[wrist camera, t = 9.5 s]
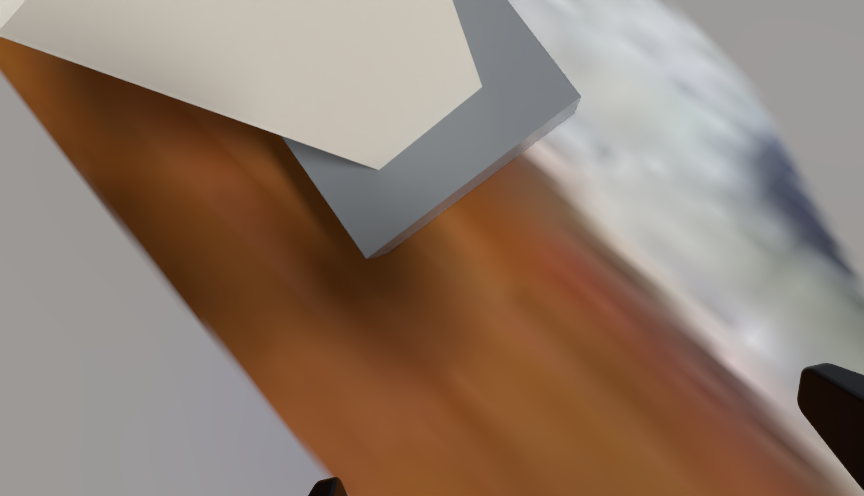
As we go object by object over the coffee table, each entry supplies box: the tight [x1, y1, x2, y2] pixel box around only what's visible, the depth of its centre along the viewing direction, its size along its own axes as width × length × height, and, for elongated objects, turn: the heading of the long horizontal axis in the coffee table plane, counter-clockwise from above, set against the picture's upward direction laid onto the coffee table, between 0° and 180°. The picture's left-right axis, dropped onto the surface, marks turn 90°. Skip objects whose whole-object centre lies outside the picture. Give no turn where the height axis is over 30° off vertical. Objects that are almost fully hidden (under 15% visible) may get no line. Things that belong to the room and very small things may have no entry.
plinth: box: [282, 0, 581, 259], centre depth 19 cm, size 10×10×2 cm
